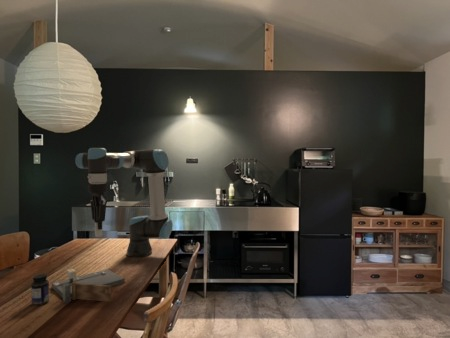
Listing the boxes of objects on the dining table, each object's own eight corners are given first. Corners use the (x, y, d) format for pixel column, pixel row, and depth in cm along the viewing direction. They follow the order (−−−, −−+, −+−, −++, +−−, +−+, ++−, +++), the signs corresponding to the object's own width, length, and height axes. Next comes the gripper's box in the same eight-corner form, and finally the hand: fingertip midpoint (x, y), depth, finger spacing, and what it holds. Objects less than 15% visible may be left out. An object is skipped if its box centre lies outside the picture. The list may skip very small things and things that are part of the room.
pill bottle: (45, 298, 129) (45, 272, 129) (51, 302, 126) (51, 275, 125) (28, 303, 125) (28, 276, 125) (34, 307, 121) (34, 279, 121)
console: (107, 273, 159) (107, 267, 159) (124, 282, 146) (124, 276, 146) (51, 287, 141) (51, 281, 141) (65, 299, 128) (64, 293, 128)
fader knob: (72, 279, 144) (72, 268, 144) (75, 282, 141) (75, 270, 141) (66, 280, 143) (66, 269, 143) (70, 283, 139) (70, 272, 139)
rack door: (111, 300, 127) (111, 284, 127) (109, 302, 125) (108, 285, 125) (73, 297, 130) (73, 281, 130) (71, 299, 128) (70, 283, 128)
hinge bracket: (68, 299, 128) (67, 282, 128) (70, 301, 126) (70, 284, 126) (62, 301, 127) (62, 284, 127) (65, 303, 125) (65, 286, 125)
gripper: (83, 182, 138) (84, 235, 139) (95, 184, 129) (96, 240, 130) (99, 181, 144) (100, 232, 145) (112, 183, 135) (113, 237, 135)
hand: (98, 236), depth 137 cm, fingers closed
